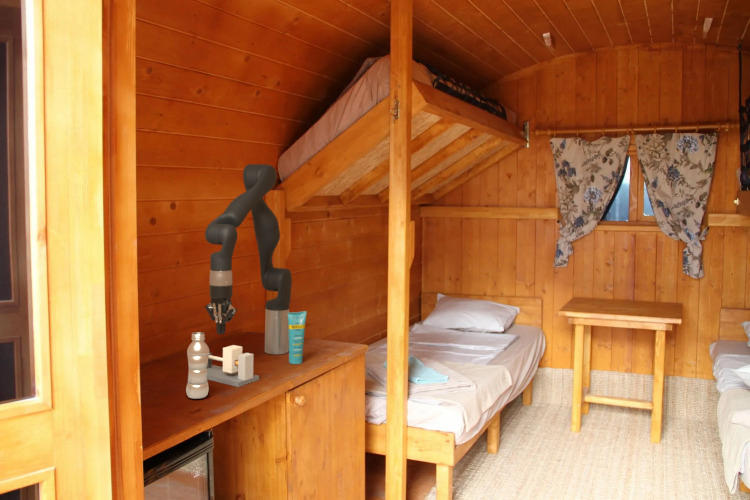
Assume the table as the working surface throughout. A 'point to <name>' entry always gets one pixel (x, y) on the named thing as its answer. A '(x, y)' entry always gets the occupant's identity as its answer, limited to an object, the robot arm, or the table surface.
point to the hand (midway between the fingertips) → (220, 333)
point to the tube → (296, 336)
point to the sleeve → (231, 358)
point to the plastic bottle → (197, 367)
